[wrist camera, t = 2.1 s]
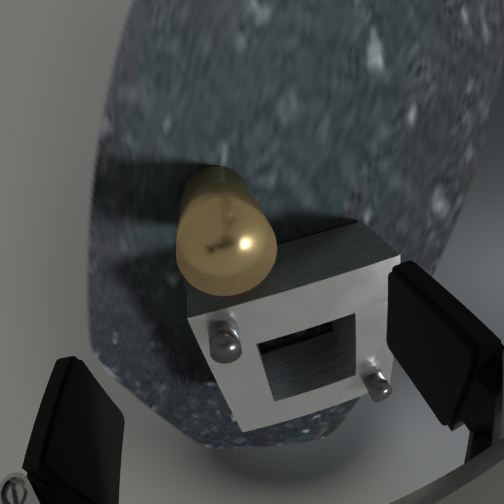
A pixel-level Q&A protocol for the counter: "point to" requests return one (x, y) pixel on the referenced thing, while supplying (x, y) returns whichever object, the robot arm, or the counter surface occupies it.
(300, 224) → the counter surface
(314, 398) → the jig
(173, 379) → the counter surface
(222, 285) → the brass cylinder
